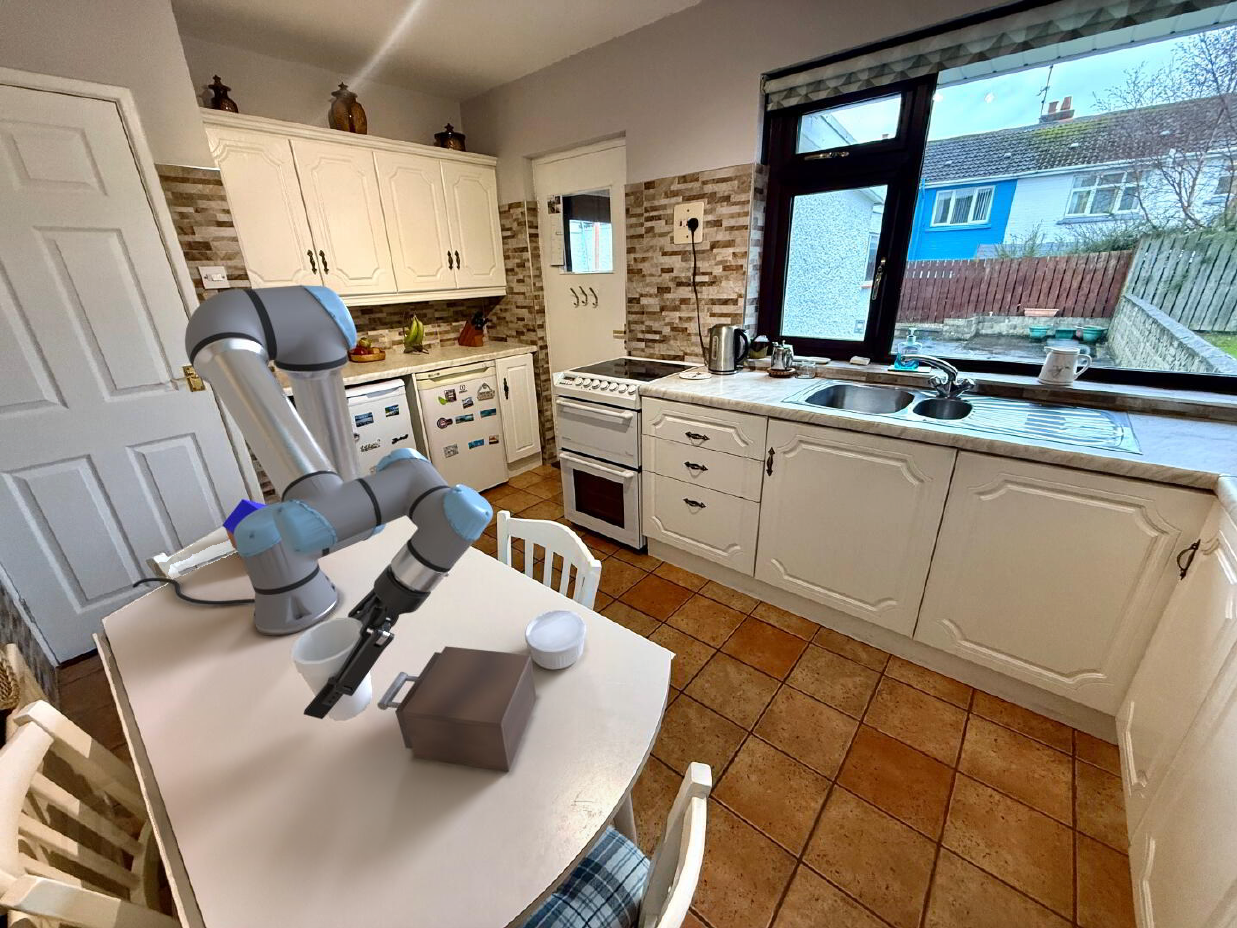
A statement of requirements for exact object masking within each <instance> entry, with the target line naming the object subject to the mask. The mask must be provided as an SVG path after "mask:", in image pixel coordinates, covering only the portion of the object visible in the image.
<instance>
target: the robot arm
mask: <svg viewBox="0 0 1237 928" xmlns="http://www.w3.org/2000/svg"><path fill="white" fill-rule="evenodd" d="M357 342H358V333H357V329H356V325H355V323H354V320H353V318H352V316H351V314H350V311H349V309H348V307H347V306H346V304H345V303H344V300H342V298H341V297H340V296H339V294H338V293H336V292H335V291H334V290H333V289H331V288H329V287H327V286H324V285H304V284H299V285H298V284H297V285H289V286H288V285H286V286H285V285H284V286H271V287H260V288H259V287H257V288H247V289H246V288H245V289H241V288H236V289H228V290H224V291H223V290H222V291H221V292H217V293H215V294H213V295H212V296H210V297H208V298H207V299H205V300H204V301H203V302H201V303H200V304H199V305H198V307H196V309H195V310H194V311H193V312H192V314H191V317H190V318H189V320H188V322H187V326H186V328H185V335H184V347H185V348H184V349H185V352H186V357H187V359H188V362H189V363H190V365H191V367H192V369H193V370H194V372H195V374H196V375H197V377H199V379H201V380H202V381H203V382H205V383H207V384H209V385H212V386H213V388H214V390H215V391H216V393H217V395H218V397H219V398H220V400H221V402H222V403H223V405H224V406H225V408H226V410H227V412H228V413H229V415H230V417H231V418H232V420H233V421H234V423H235V425H236V426H237V428H238V429H239V431H240V433H241V435H242V437H243V438H244V440H245V441H246V443H247V445H248V447H249V448H250V450H251V451H252V453H253V454H254V456H255V458H256V459H257V462H258V463H259V465H261V468H262V470H263V471H264V473H265V475H266V477H267V478H268V480H269V482H270V483H271V484H272V486H273V488H274V490H275V491H276V493H277V494H278V496H279V498H280V499H281V501H282V502H275V503H271V504H267V505H268V506H265V507H263V508H260V509H258V510H256V511H254V512H252V513H251V514H249V515H248V516H246V517H245V518H244V519H242V521H241V522H240V523H239V524H238V525H237V526H236V528H235V531H234V538H235V542H236V545H237V550H236V552H237V554H238V555H239V556H240V557H241V560H242V562H243V565H244V567H245V571H246V574H247V576H248V578H249V581H250V584H251V586H252V588H253V591H254V598H244V599H230V600H229V599H227V600H205V599H197V598H193V597H190V596H187V595H186V594H183V593H182V592H181V585H180V584H179V582H178V580H175V579H171V578H167V577H166V578H165V577H147V578H143V579H140V580H137V581H136V582H134V583H133V584H132V589H133V588H137V587H138V586H140V585H141V584H144V583H147V582H149V583H151V582H161V583H169V584H172V585H173V586H174V592H175V595H176V596H177V597H178V598H180V599H181V600H184V601H185V602H188V603H193V604H200V605H211V606H214V605H215V606H223V605H238V604H254V611H253V622H254V624H255V628H256V629H257V631H258V632H259V633H261V634H263V635H266V636H285V635H290V634H294V633H298V632H300V631H303V630H306V629H308V628H309V629H310V627H311V628H312V627H314V626H316V625H318V624H319V623H321V622H322V621H323V620H325V619H326V618H327V617H328V616H330V615H331V614H332V613H333V612H334V611H335V609H336V608H337V607H338V605H339V603H340V593H339V590H338V588H337V586H336V585H335V584H334V582H332V579H331V578H330V577H328V576H327V574H326V573H324V572H323V570H322V569H321V567H320V564H319V563H320V562H319V559H322V558H324V557H326V556H329V555H331V554H333V553H337V552H338V551H341V550H344V549H346V548H348V547H350V546H353V545H356V544H357V543H360V542H364V541H365V542H366V541H368V540H370V538H372V537H374V536H376V535H378V534H380V533H381V532H382V531H384V530H385V528H386V526H387V524H388V523H391V522H393V521H396V520H398V519H401V518H402V517H407V518H408V519H409V520H410V521H411V522H412V524H413V525H414V526H416V528H417V529H416V530H415V531H414V533H413V534H412V535H411V537H410V538H408V539H407V541H406V542H405V543H404V545H402V547H401V548H400V549H399V550H398V552H397V553H396V554H395V555H394V556H393V558H392V559H391V561H390V563H389V564H388V565H386V567H385V568H384V569H383V571H381V572H380V574H379V575H378V576H377V578H376V579H375V580H374V582H373V588H372V589H370V591H369V592H368V593H367V594H366V595H365V596H364V597H363V598H362V599H361V600H360V601H359V602H358V603H357V604H356V605H355V606H354V607H353V608H352V609H351V610H350V611H349V612H348V613H347V618H354V619H356V620H359V621H361V623H362V625H363V626H362V628H361V629H360V631H359V634H360V638H359V639H358V641H357V643H356V644H355V646H354V648H353V649H352V651H351V653H350V654H349V656H348V657H347V659H346V661H345V662H344V664H343V666H342V667H341V669H340V671H339V672H338V674H337V675H336V677H334V676H332V678H331V677H329V678H328V681H327V684H326V685H325V686H324V687H323V688H322V690H321V691H320V692H319V693H318V694H317V696H314V698H313V699H312V700H311V701H310V703H309V704H308V705H307V706H306V707H305V709H304V710H303V715H305V716H308V717H312V718H315V719H319V720H324V718H325V717H326V716H328V715H327V713H328V712H329V711H330V710H331V709H332V707H333V706H334V705H335V704H336V703H337V701H338V700H339V699H340V698H341V697H342V695H343V694H345V695H348V696H352V695H353V694H354V693H355V691H356V690H357V688H358V687H359V685H360V684H361V682H362V681H363V680H364V678H365V677H366V675H367V674H368V672H369V671H370V672H371V670H372V668H373V667H374V665H375V664H376V663H377V661H378V660H379V658H380V657H381V655H382V653H383V652H384V651H385V649H387V647H388V646H389V645H390V644H391V643H392V642H393V641H394V639H395V633H393V632H391V629H392V628H393V627H395V625H396V624H397V622H398V620H399V618H400V616H401V615H404V614H411V613H412V614H413V613H414V612H417V611H418V610H419V609H420V607H421V606H422V605H423V604H424V603H425V602H426V601H427V599H428V598H429V597H430V595H431V593H432V592H433V591H434V590H435V589H436V588H437V587H438V585H439V584H440V583H441V582H442V581H443V579H444V578H445V577H446V578H447V577H449V576H450V573H451V572H450V571H451V569H452V568H453V567H455V565H456V563H458V561H459V560H460V559H461V558H462V556H463V555H464V554H465V553H466V552H467V551H468V550H469V548H470V547H471V546H472V545H473V544H474V543H475V542H476V541H477V540H479V538H480V537H481V535H482V533H483V532H484V531H485V529H486V528H487V527H488V525H489V523H490V522H491V521H492V519H493V517H494V510H493V508H492V506H491V504H490V502H489V501H488V500H487V499H486V498H485V497H484V496H482V495H480V493H479V492H478V491H476V490H474V488H472V487H470V486H467V485H464V484H455V485H453V486H450V485H449V483H448V482H447V481H446V480H445V479H444V477H443V476H442V475H441V474H440V473H439V471H438V470H437V469H436V468H435V466H434V465H433V463H431V462H430V461H429V459H427V458H426V457H425V456H424V455H423V454H421V452H419V451H418V450H417V449H414V448H411V447H401V448H396V449H393V450H391V451H390V454H388V455H384V456H383V457H382V458H381V459H380V460H379V462H378V463H377V465H376V467H375V472H374V473H371V474H367V475H362V470H361V464H360V460H359V454H358V450H357V444H356V438H355V434H354V428H353V424H352V423H353V422H352V418H351V414H350V408H349V403H348V399H347V394H346V388H345V383H344V379H343V373H342V371H343V370H344V368H345V367H347V365H348V364H349V357H348V351H352V350H353V349H355V348H356V346H357V345H358V343H357ZM270 361H274V365H275V368H276V369H277V370H278V371H281V372H282V373H284V374H286V375H287V376H288V379H289V384H290V388H291V392H292V396H293V398H294V399H293V400H294V403H295V406H296V407H295V406H294V404H293V402H292V401H291V400H290V398H289V397H288V395H287V393H286V392H285V390H284V389H283V387H282V386H281V384H280V382H279V381H278V380H277V378H276V376H275V375H274V373H273V372H272V370H271V369H270V367H269V364H270ZM368 630H369V631H368ZM370 631H371V632H370Z"/></svg>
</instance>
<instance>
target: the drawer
mask: <svg viewBox="0 0 1237 928" xmlns="http://www.w3.org/2000/svg"><path fill="white" fill-rule="evenodd" d="M440 654H441V652H438V651H435V652H434V653H432V655H431V657H430V659H429V660H428V662H427V663H426V664H425V666H424V668H423V669H422V671H421V672H420V674H419V675H418V676H415V675H409V674H408V673H407V672H405V671H400V672H399V674H398V675H397V676H396V677H395V679H394V680H393V681H392V683H391V684H390V685H389V687H388V688H387V690H386V691H385V692H384V694H383V695H382V697H381V698H380V700H378V702H377V704H376V706H377V707H378V709H380V710H382V711H386V710H387V709H388V708H391V709H395V711H394V712H395V714H396V720H397V722H398V726H399V730H400V733H401V736H402V740H403V743H404V747H405V749H406V750H407V749H408V750H413V748H412V744H411V741H410V737H409V733H408V730H407V726H406V723H405V719H404V715H403V710H404V709H405V707H406V706H407V704H408V703H409V701H410V700H411V698H412V696H413V695H414V693H415V692H416V690H417V689H418V687H419V686H420V684H421V683H422V681H423V680H424V678H425V677H426V675H427V674H428V672H429V671H430V669H431V668H432V666H433V665H434V663H435V661H436V660H437V658H438V657H439V655H440ZM406 682H413V684H412V685H411V687H410V688H409V690H408V691H407V693H405V696H404V697H403V698H402V700H401V701H400V702H398V701H394V699H395V698H396V697H397V695H398V694H399V692H400V690H401V689H402V688H403V686H404V685H405V684H406Z"/></svg>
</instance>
